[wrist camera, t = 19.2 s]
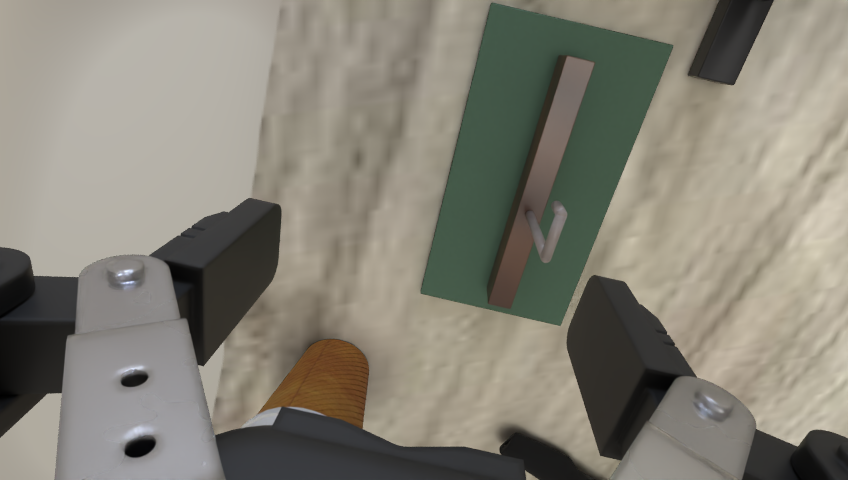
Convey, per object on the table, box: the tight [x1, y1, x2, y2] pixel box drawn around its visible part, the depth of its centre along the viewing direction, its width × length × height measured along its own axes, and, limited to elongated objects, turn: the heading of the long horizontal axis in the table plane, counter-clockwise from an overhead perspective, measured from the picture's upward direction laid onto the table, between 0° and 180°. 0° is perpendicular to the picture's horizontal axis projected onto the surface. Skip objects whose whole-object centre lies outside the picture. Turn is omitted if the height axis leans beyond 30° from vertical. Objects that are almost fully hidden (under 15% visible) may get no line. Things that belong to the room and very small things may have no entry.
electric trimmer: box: [500, 433, 594, 480], centre depth 43 cm, size 4×16×3 cm, turn 55°
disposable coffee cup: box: [241, 339, 369, 429], centre depth 37 cm, size 10×10×12 cm
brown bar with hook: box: [487, 55, 595, 309], centre depth 29 cm, size 18×2×10 cm, turn 168°
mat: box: [421, 3, 673, 326], centre depth 34 cm, size 22×12×1 cm, turn 168°
